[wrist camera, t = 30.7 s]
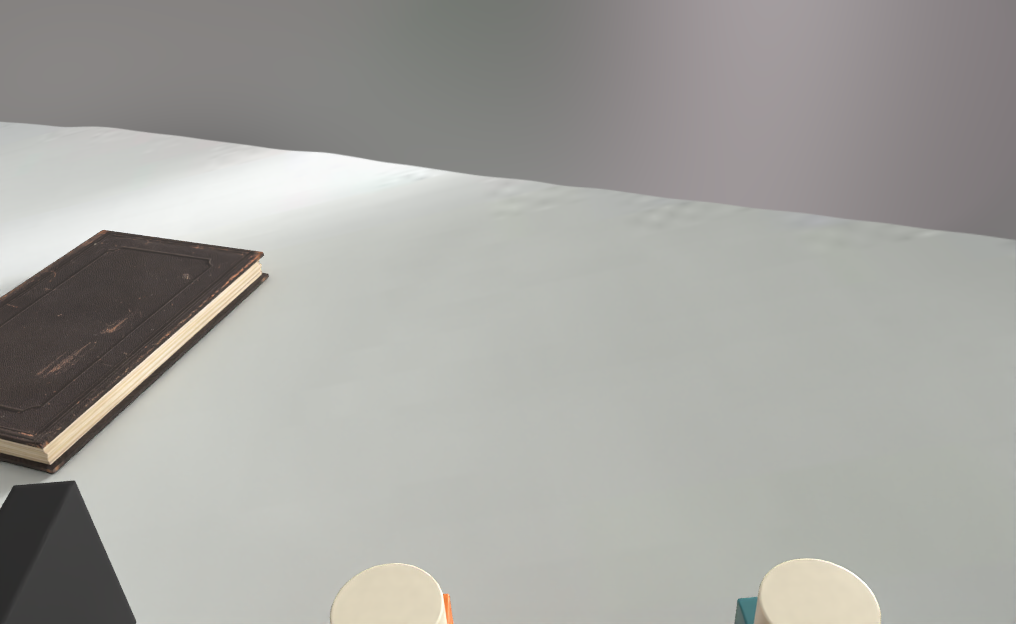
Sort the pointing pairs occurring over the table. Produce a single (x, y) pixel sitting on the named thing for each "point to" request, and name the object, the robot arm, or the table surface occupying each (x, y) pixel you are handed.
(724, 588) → the table surface
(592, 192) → the table surface
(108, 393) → the hardcover book
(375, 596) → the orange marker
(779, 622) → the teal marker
